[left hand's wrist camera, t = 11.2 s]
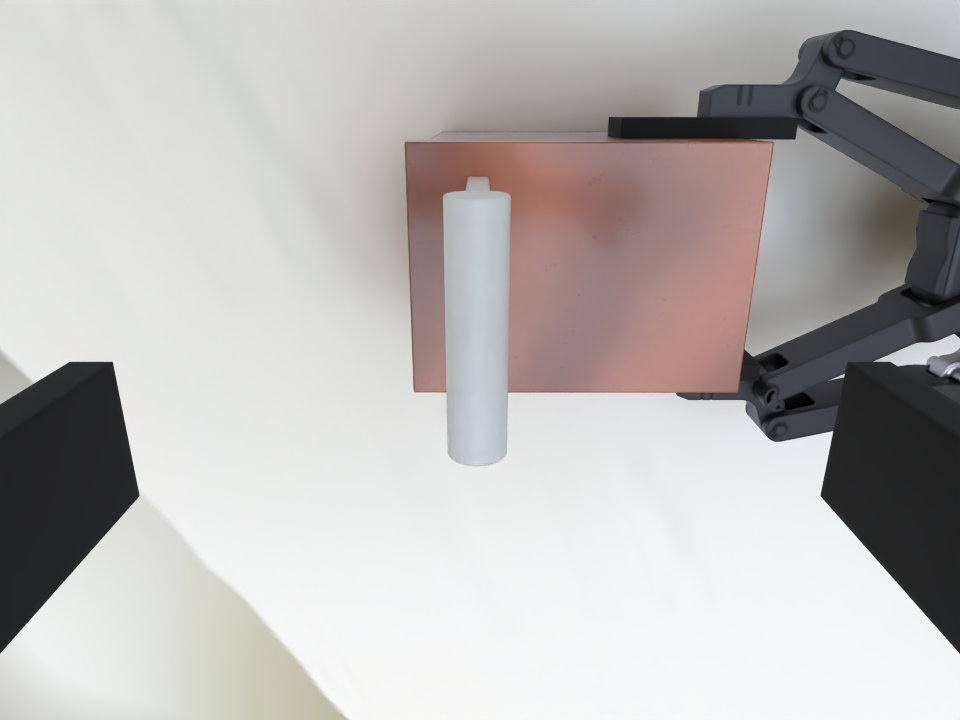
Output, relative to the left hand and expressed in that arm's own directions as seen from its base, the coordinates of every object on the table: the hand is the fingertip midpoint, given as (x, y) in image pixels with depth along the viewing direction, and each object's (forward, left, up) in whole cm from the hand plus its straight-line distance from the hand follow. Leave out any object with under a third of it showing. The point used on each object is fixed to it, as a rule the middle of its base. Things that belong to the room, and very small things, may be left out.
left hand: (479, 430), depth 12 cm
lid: (+3, +2, -13) cm, 14 cm away
